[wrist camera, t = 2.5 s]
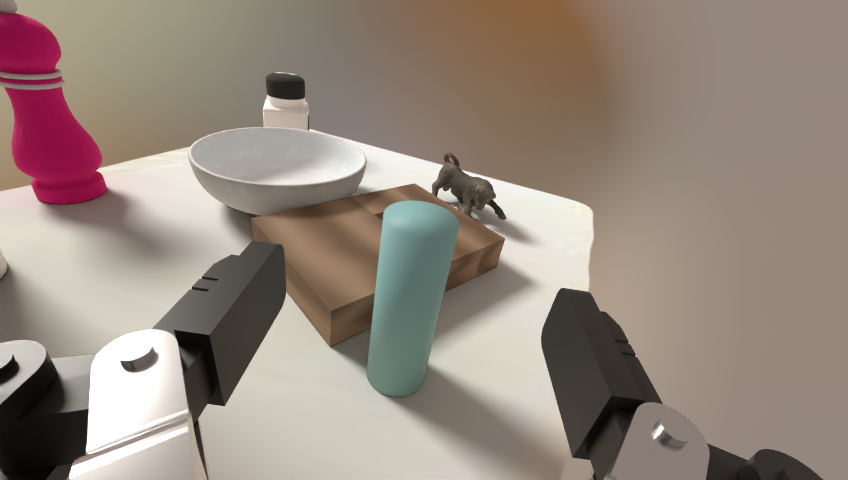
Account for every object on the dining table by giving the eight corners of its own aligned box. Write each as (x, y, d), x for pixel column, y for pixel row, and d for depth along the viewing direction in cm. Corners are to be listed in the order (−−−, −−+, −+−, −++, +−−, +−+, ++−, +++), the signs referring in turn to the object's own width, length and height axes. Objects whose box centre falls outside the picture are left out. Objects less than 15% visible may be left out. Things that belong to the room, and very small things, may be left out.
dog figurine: (423, 198, 58) (430, 151, 54) (450, 192, 61) (459, 148, 57) (477, 235, 50) (490, 184, 46) (505, 226, 54) (519, 178, 50)
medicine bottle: (309, 153, 66) (308, 81, 60) (265, 151, 64) (260, 76, 57) (308, 140, 72) (307, 73, 65) (267, 138, 69) (263, 68, 63)
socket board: (330, 346, 31) (331, 310, 29) (254, 250, 40) (251, 217, 38) (496, 267, 44) (505, 238, 42) (410, 208, 54) (414, 183, 52)
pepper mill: (66, 212, 41) (-20, -4, 30) (12, 196, 42) (-89, -18, 31) (127, 188, 47) (72, 1, 36) (78, 175, 48) (12, -11, 37)
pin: (390, 408, 27) (417, 247, 20) (355, 365, 30) (368, 209, 22) (436, 377, 30) (475, 227, 23) (400, 340, 32) (425, 195, 25)
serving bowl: (393, 211, 53) (399, 165, 49) (245, 261, 39) (237, 202, 35) (310, 160, 64) (310, 120, 60) (171, 185, 49) (159, 133, 46)
